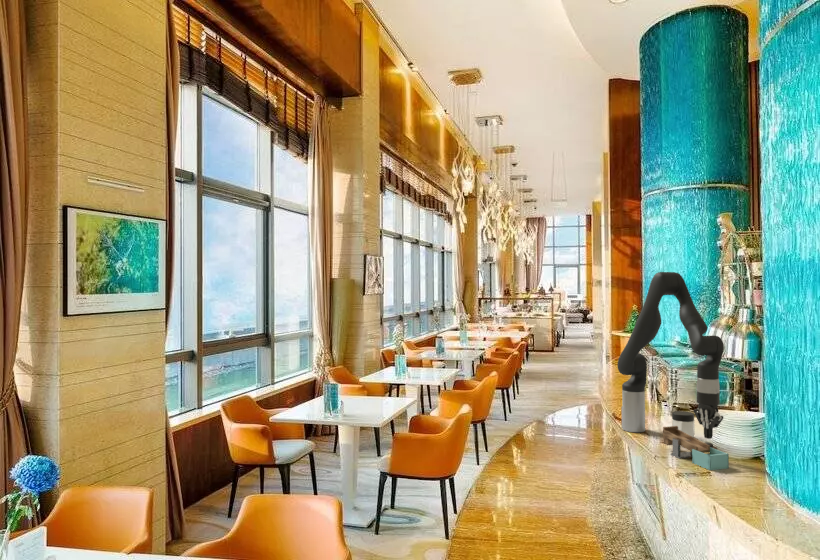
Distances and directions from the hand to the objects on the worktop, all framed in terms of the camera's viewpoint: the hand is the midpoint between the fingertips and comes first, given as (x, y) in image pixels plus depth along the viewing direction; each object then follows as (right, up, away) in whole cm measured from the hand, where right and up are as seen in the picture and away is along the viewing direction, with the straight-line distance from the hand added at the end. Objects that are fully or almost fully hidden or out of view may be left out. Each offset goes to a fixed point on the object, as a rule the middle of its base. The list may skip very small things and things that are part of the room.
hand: (708, 438), depth 224 cm
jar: (+1, -8, +22) cm, 23 cm away
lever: (-4, -6, +5) cm, 9 cm away
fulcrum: (-6, -8, +5) cm, 11 cm away
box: (-3, -8, -8) cm, 11 cm away
